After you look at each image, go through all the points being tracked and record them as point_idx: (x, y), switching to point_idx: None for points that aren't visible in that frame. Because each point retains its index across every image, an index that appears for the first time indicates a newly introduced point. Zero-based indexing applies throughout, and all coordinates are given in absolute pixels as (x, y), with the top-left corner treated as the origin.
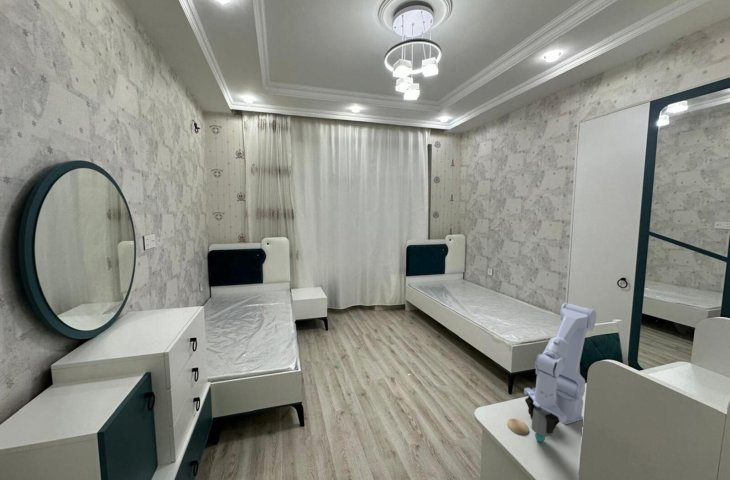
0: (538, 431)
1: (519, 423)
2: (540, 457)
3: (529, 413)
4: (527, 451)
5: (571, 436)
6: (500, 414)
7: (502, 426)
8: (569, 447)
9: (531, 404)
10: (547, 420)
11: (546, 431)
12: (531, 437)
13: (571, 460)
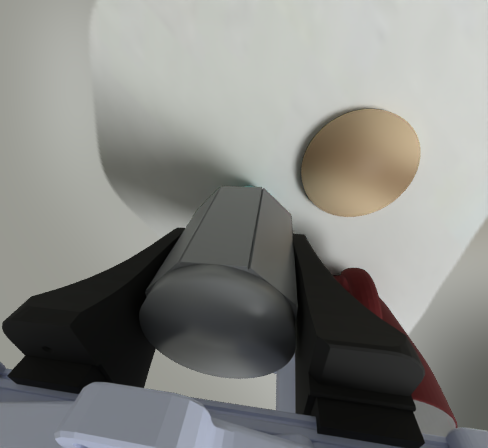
0: (214, 196)
1: (363, 191)
2: (173, 120)
3: (357, 270)
4: (214, 80)
5: None
6: (484, 146)
7: (415, 73)
8: None
9: (312, 340)
10: (101, 287)
11: (182, 230)
12: (277, 179)
13: (151, 227)
